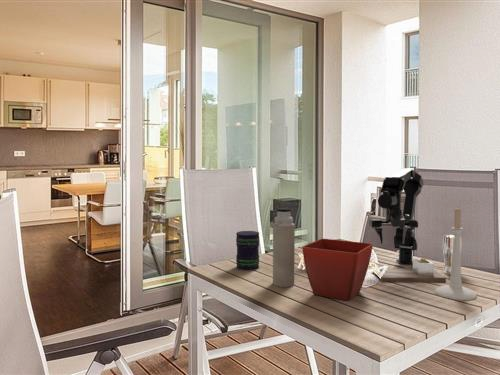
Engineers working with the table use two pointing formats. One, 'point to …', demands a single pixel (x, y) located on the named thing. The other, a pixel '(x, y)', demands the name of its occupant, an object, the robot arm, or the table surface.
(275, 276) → the thermos bottle
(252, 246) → the storage jar
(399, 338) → the table surface
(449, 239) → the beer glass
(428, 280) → the board
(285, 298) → the table surface
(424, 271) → the white small box
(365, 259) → the plant pot
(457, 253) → the candlestick
